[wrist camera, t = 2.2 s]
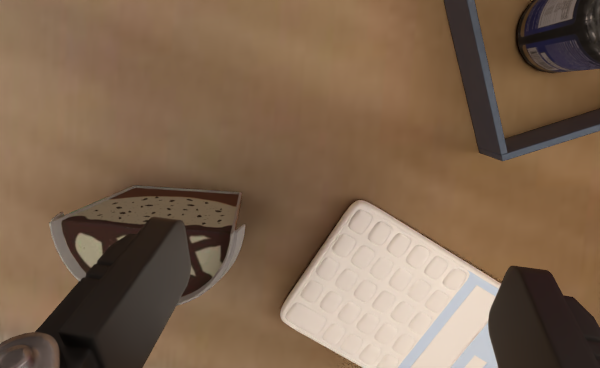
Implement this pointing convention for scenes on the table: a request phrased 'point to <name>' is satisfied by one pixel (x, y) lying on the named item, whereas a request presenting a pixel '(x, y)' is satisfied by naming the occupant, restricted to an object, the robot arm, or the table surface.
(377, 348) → the calculator
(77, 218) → the food container
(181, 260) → the robot arm
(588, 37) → the pill bottle
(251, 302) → the table surface
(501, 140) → the fence
